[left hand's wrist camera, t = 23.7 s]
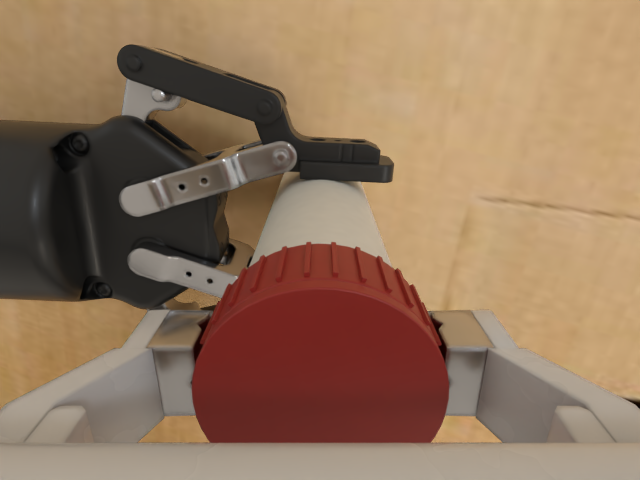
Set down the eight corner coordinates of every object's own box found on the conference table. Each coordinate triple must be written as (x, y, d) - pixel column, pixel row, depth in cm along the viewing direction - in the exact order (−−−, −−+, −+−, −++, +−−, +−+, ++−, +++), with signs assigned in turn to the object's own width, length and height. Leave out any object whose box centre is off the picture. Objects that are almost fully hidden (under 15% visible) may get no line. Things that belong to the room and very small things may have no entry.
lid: (340, 449, 12) (344, 527, 10) (174, 356, 11) (139, 423, 9) (472, 319, 10) (510, 379, 8) (294, 193, 9) (285, 228, 7)
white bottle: (353, 229, 25) (401, 455, 10) (278, 220, 25) (214, 437, 10) (366, 153, 23) (443, 292, 9) (285, 143, 23) (221, 267, 8)
